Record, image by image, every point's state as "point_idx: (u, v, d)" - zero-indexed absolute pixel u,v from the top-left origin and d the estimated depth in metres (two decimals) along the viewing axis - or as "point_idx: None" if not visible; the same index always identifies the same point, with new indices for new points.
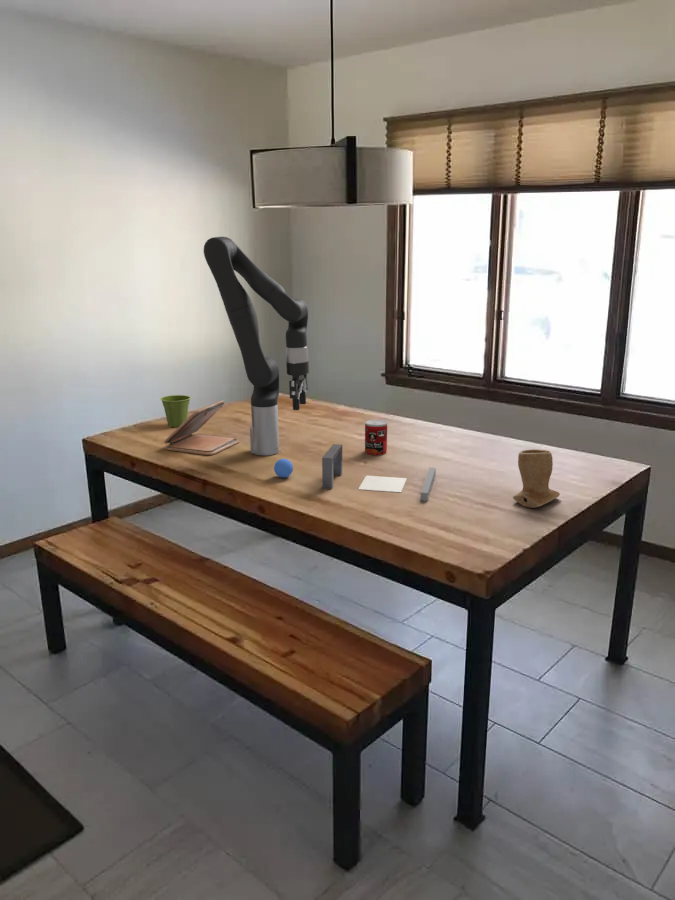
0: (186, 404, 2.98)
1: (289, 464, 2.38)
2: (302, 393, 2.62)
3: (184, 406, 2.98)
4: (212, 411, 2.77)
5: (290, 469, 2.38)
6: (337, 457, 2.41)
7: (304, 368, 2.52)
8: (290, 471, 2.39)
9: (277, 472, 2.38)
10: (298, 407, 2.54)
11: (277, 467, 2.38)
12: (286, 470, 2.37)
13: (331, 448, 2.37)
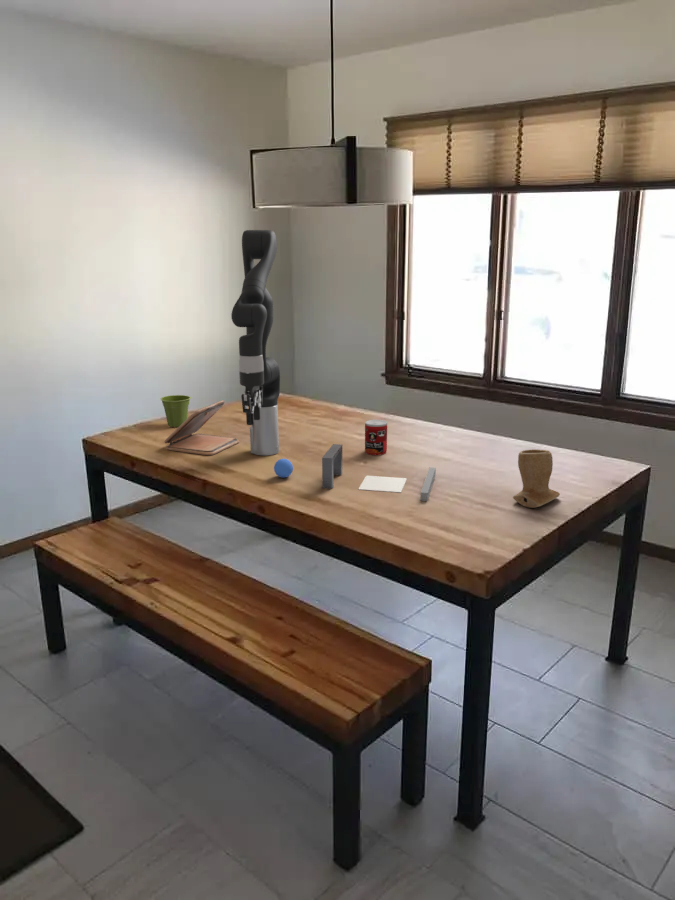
0: (186, 404, 2.98)
1: (289, 464, 2.38)
2: (256, 407, 2.39)
3: (184, 406, 2.98)
4: (212, 411, 2.77)
5: (290, 469, 2.38)
6: (337, 457, 2.41)
7: (259, 379, 2.31)
8: (290, 471, 2.39)
9: (277, 472, 2.38)
10: (252, 422, 2.34)
11: (277, 467, 2.38)
12: (286, 470, 2.37)
13: (331, 448, 2.37)
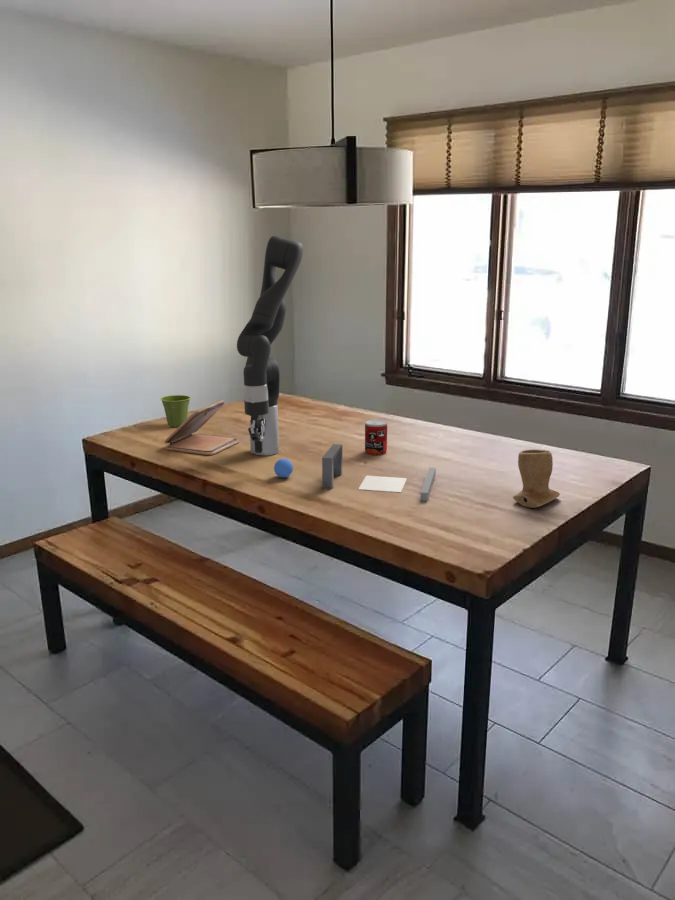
0: (186, 404, 2.98)
1: (289, 464, 2.38)
2: None
3: (184, 406, 2.98)
4: (212, 411, 2.77)
5: (290, 469, 2.38)
6: (337, 457, 2.41)
7: (264, 408, 2.34)
8: (290, 471, 2.39)
9: (277, 472, 2.38)
10: (260, 449, 2.39)
11: (277, 467, 2.38)
12: (286, 470, 2.37)
13: (331, 448, 2.37)
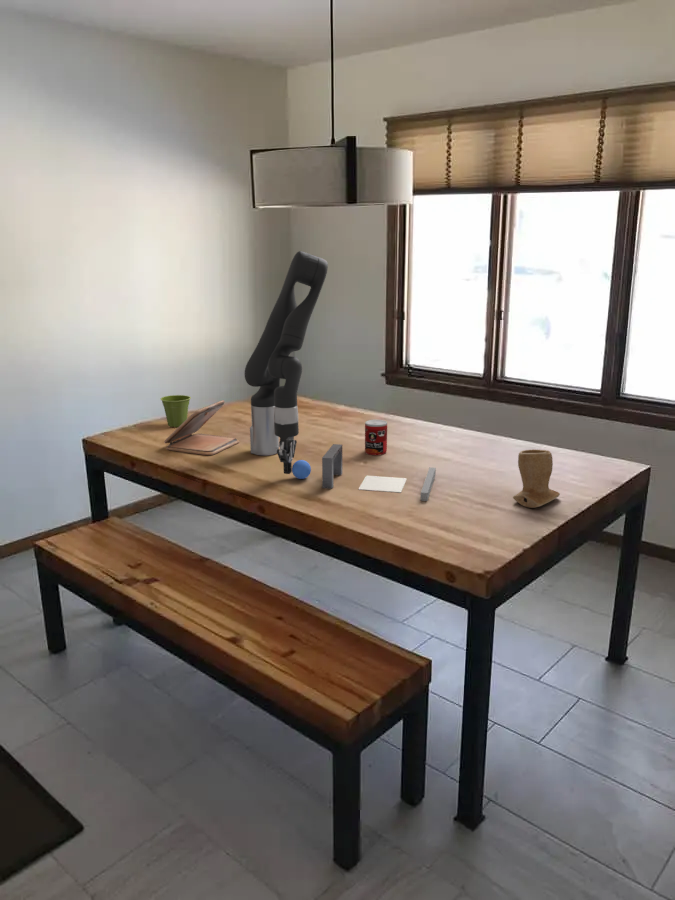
0: (186, 404, 2.98)
1: (305, 477, 2.38)
2: None
3: (184, 406, 2.98)
4: (212, 411, 2.77)
5: (300, 478, 2.38)
6: (337, 457, 2.41)
7: (293, 430, 2.32)
8: (298, 478, 2.39)
9: (297, 468, 2.36)
10: (289, 471, 2.38)
11: (302, 468, 2.36)
12: (299, 477, 2.37)
13: (331, 448, 2.37)
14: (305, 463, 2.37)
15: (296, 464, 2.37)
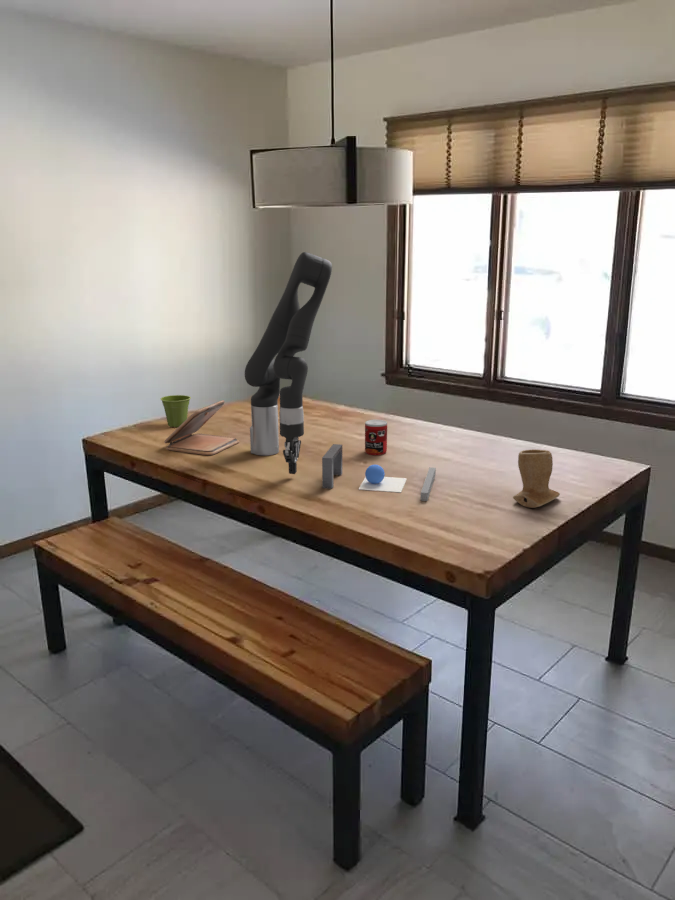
0: (186, 404, 2.98)
1: None
2: None
3: (184, 406, 2.98)
4: (212, 411, 2.77)
5: (365, 474, 2.33)
6: (337, 457, 2.41)
7: (299, 430, 2.33)
8: (365, 472, 2.33)
9: (377, 474, 2.31)
10: (294, 471, 2.39)
11: (377, 479, 2.32)
12: (367, 476, 2.32)
13: (331, 448, 2.37)
14: None
15: (380, 472, 2.32)
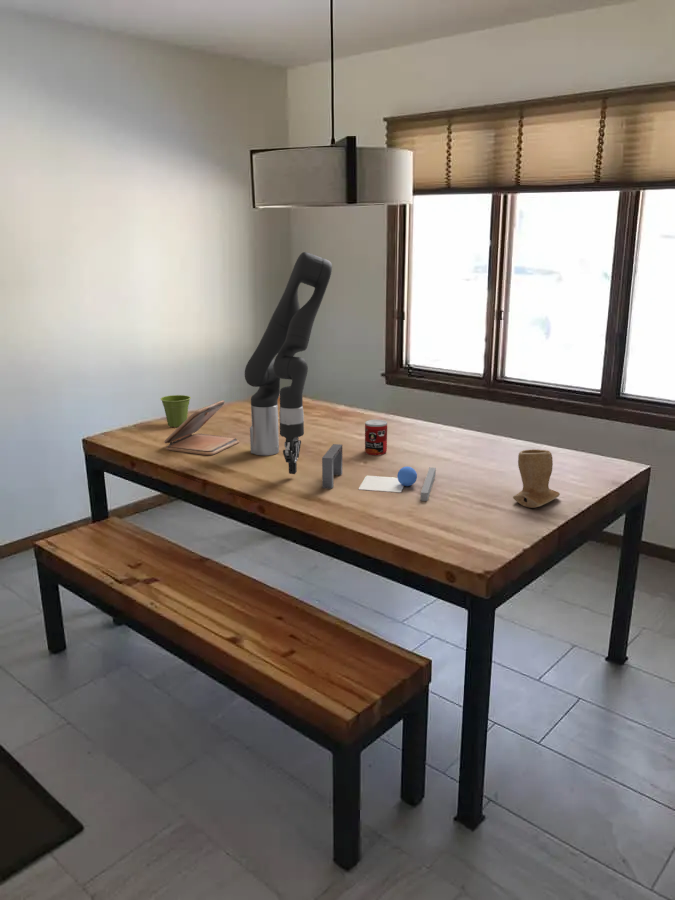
0: (186, 404, 2.98)
1: (415, 474, 2.30)
2: None
3: (184, 406, 2.98)
4: (212, 411, 2.77)
5: (415, 479, 2.31)
6: (337, 457, 2.41)
7: (299, 430, 2.33)
8: (414, 482, 2.31)
9: (401, 480, 2.30)
10: (294, 471, 2.39)
11: (402, 475, 2.29)
12: (411, 480, 2.30)
13: (331, 448, 2.37)
14: (400, 470, 2.31)
15: (399, 479, 2.31)
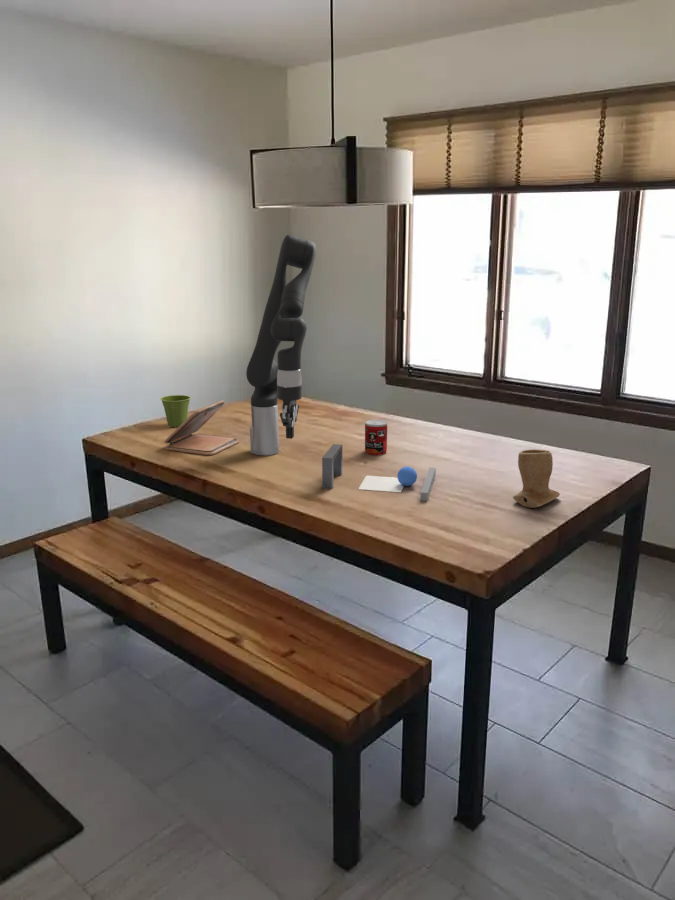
0: (186, 404, 2.98)
1: (415, 474, 2.30)
2: None
3: (184, 406, 2.98)
4: (212, 411, 2.77)
5: (415, 479, 2.31)
6: (337, 457, 2.41)
7: (297, 393, 2.29)
8: (414, 482, 2.31)
9: (401, 480, 2.30)
10: (292, 435, 2.35)
11: (402, 475, 2.29)
12: (411, 480, 2.30)
13: (331, 448, 2.37)
14: (400, 470, 2.31)
15: (399, 479, 2.31)
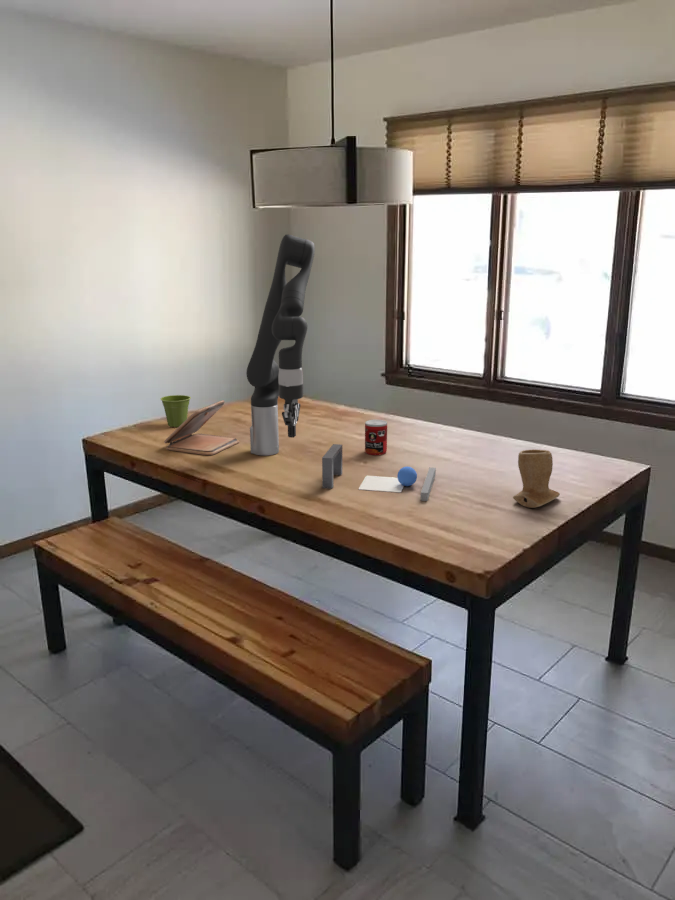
0: (186, 404, 2.98)
1: (415, 474, 2.30)
2: None
3: (184, 406, 2.98)
4: (212, 411, 2.77)
5: (415, 479, 2.31)
6: (337, 457, 2.41)
7: (298, 392, 2.30)
8: (414, 482, 2.31)
9: (401, 480, 2.30)
10: (294, 434, 2.35)
11: (402, 475, 2.29)
12: (411, 480, 2.30)
13: (331, 448, 2.37)
14: (400, 470, 2.31)
15: (399, 479, 2.31)
